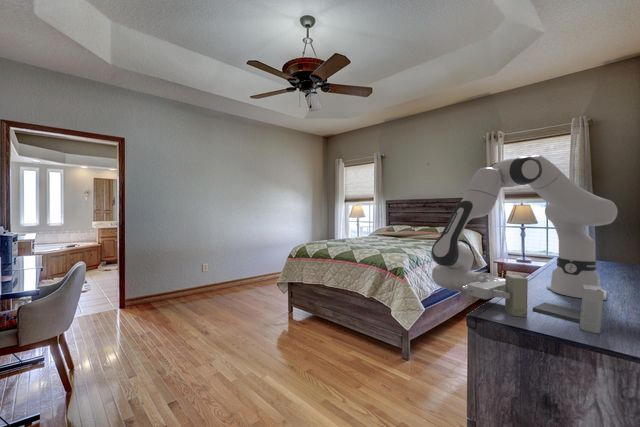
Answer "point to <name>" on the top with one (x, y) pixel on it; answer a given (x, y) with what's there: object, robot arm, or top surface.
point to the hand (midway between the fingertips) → (516, 293)
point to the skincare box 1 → (516, 295)
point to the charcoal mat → (558, 311)
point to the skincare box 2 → (591, 308)
